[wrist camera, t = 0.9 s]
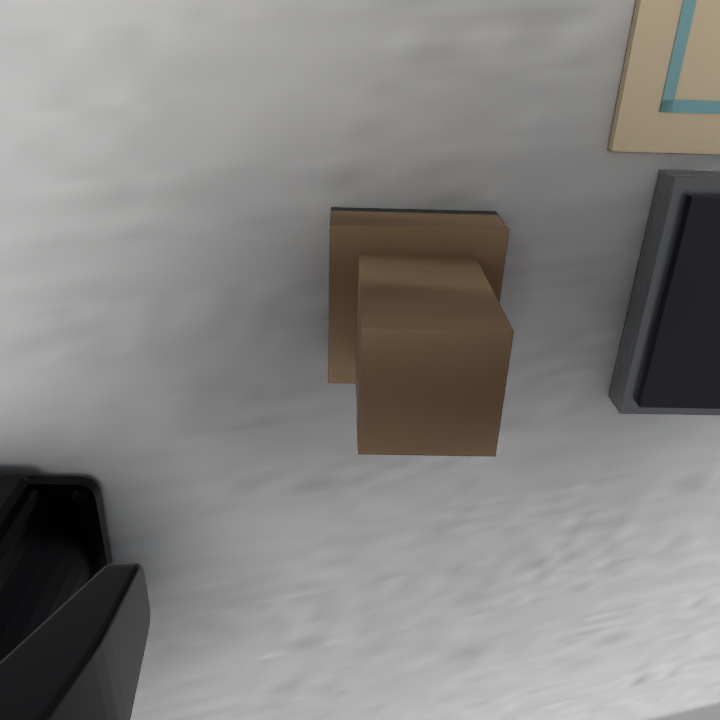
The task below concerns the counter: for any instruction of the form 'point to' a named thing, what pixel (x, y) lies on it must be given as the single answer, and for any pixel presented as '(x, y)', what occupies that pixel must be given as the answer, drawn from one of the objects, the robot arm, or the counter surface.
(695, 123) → the card
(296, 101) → the counter surface
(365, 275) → the stamp
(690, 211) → the ink pad
